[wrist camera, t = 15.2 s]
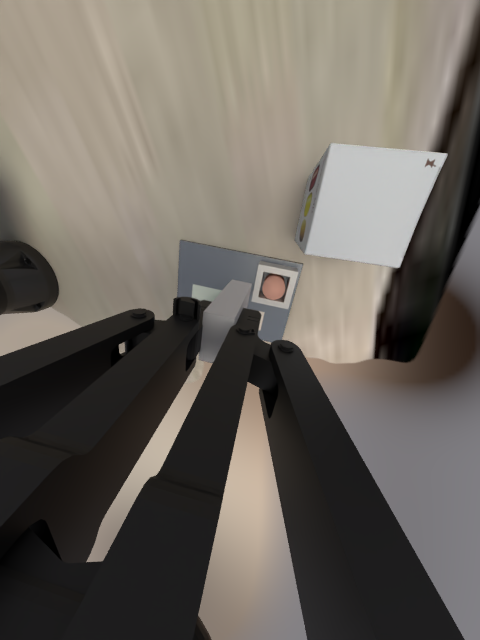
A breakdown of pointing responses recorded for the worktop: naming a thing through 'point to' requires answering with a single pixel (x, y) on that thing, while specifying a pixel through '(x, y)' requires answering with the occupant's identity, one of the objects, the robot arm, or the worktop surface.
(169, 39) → the worktop surface
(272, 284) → the button
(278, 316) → the button panel board
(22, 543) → the robot arm
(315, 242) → the supplement box
